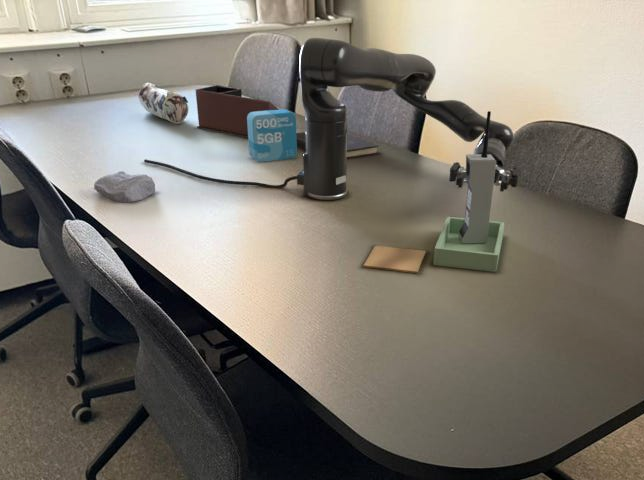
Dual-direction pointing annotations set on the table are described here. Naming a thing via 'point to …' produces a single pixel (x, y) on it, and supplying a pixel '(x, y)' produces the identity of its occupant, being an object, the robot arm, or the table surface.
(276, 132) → the data package
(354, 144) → the hardcover book
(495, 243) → the tray
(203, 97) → the desk organizer
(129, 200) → the stone block
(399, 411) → the table surface
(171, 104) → the pencil case
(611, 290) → the table surface
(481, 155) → the vintage mobile phone
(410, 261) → the cork pad
